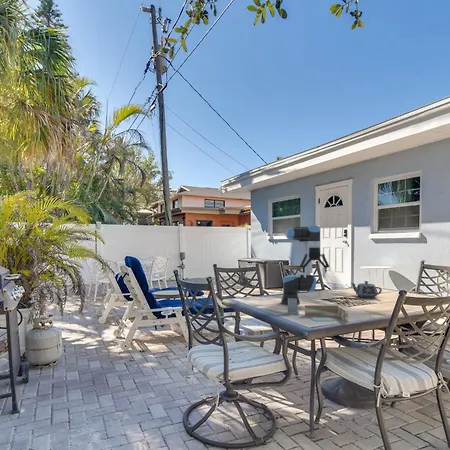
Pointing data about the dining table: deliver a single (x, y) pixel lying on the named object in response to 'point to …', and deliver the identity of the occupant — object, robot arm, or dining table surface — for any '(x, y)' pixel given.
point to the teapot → (366, 290)
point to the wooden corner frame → (326, 311)
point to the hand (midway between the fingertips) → (314, 277)
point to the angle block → (292, 306)
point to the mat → (321, 319)
